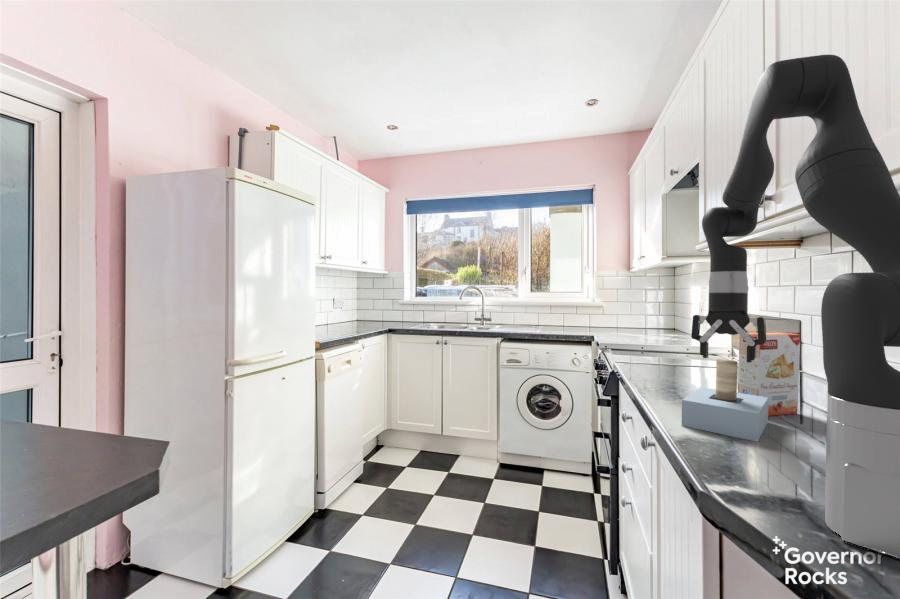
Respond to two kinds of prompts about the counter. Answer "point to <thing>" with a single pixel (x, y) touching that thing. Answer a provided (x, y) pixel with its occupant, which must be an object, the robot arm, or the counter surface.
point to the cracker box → (772, 371)
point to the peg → (726, 380)
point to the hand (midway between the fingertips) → (726, 359)
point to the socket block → (726, 414)
